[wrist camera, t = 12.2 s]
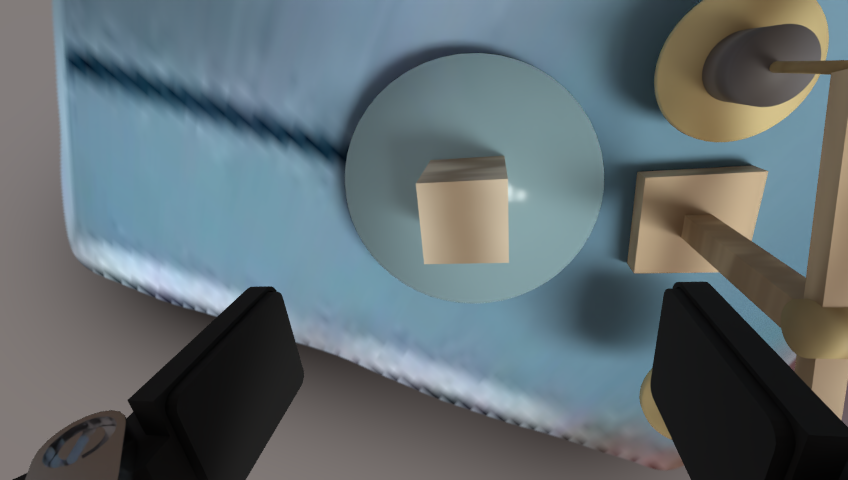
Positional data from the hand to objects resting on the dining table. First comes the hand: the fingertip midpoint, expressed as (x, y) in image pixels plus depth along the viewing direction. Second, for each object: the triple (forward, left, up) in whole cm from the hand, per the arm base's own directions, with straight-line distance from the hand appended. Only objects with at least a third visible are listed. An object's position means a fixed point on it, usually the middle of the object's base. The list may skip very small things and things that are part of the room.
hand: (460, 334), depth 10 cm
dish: (+1, +2, -21) cm, 21 cm away
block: (+1, +2, -19) cm, 19 cm away
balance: (-14, +5, -21) cm, 26 cm away
